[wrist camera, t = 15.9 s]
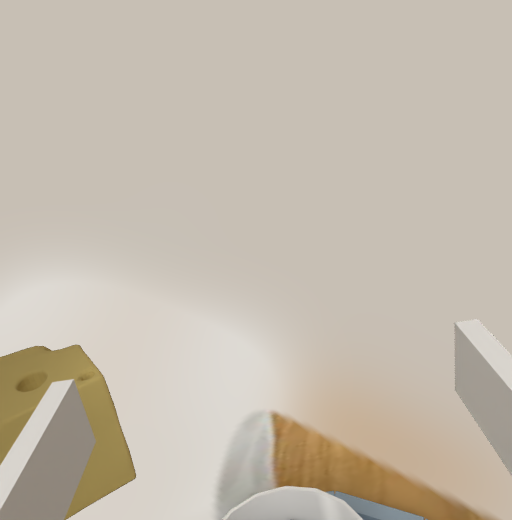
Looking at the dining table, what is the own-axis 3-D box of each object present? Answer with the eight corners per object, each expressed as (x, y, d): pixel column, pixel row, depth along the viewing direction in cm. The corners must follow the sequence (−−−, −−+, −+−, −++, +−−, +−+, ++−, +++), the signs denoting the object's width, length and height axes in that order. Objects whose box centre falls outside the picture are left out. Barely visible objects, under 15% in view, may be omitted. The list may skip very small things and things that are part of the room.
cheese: (102, 416, 45) (71, 324, 42) (145, 482, 37) (109, 374, 33) (-16, 475, 40) (-64, 378, 37) (0, 569, 32) (-60, 453, 28)
